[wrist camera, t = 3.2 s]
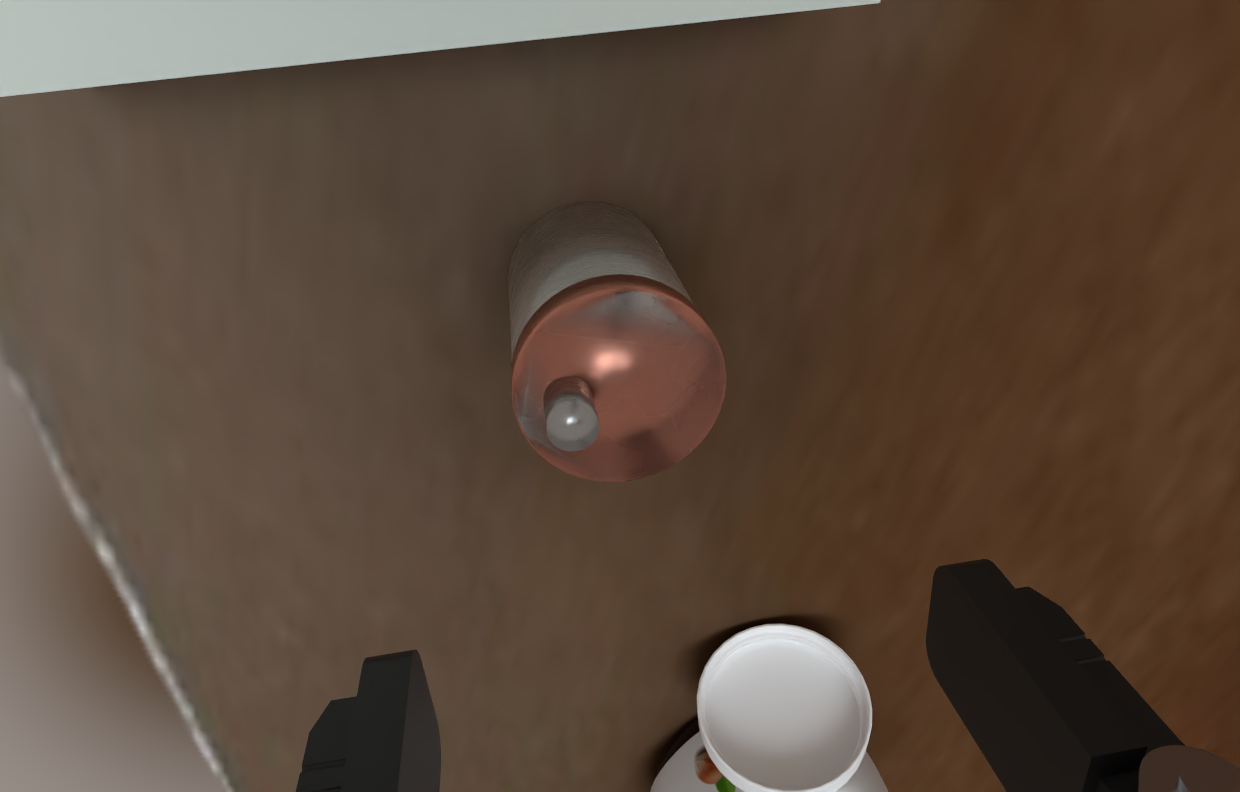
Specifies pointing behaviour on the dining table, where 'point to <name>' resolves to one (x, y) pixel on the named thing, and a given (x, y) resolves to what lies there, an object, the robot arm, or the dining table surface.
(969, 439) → the dining table surface
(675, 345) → the spout can
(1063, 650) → the robot arm
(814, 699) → the spread jar
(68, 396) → the dining table surface
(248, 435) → the dining table surface
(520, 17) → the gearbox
